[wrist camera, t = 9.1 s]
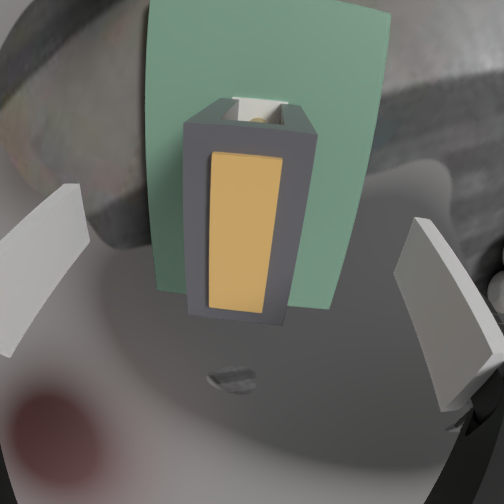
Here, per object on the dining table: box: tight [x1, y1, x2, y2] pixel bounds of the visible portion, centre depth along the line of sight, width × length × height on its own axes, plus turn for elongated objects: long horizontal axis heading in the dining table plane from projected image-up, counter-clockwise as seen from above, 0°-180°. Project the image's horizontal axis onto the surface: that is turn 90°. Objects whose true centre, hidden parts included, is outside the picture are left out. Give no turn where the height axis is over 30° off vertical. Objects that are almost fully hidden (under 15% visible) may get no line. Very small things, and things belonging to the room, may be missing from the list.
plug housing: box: [183, 98, 318, 326], centre depth 16 cm, size 9×5×8 cm, turn 175°
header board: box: [145, 0, 391, 309], centre depth 18 cm, size 22×14×6 cm, turn 175°
